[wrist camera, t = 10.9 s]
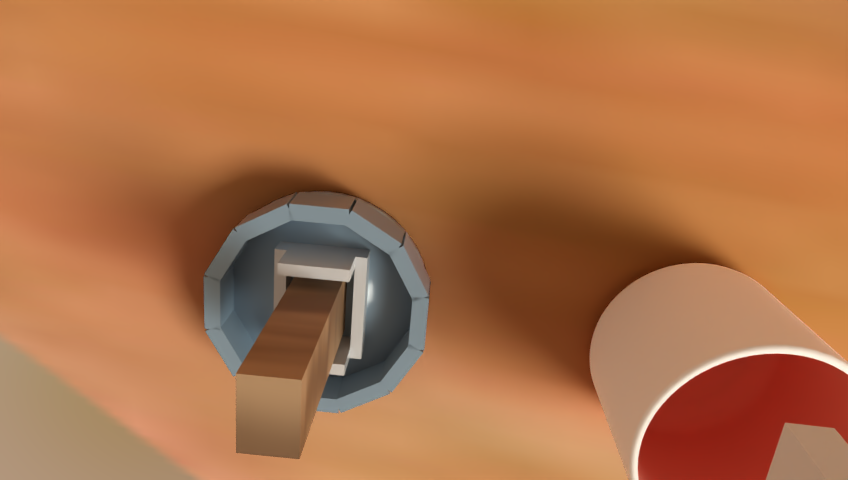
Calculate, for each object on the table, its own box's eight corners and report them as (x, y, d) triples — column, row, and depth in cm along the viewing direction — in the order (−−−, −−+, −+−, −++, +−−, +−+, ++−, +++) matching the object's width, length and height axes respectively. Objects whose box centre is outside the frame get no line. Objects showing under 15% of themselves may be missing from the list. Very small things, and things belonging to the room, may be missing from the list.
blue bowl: (221, 180, 34) (195, 199, 31) (438, 201, 34) (436, 222, 31) (223, 372, 38) (200, 408, 35) (419, 392, 38) (416, 430, 34)
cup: (559, 397, 38) (594, 528, 28) (624, 232, 34) (688, 316, 25) (730, 443, 38) (821, 586, 28) (810, 283, 35) (942, 385, 25)
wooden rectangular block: (301, 265, 35) (235, 373, 25) (347, 269, 35) (301, 380, 25) (299, 325, 36) (236, 452, 26) (344, 329, 36) (299, 458, 26)
